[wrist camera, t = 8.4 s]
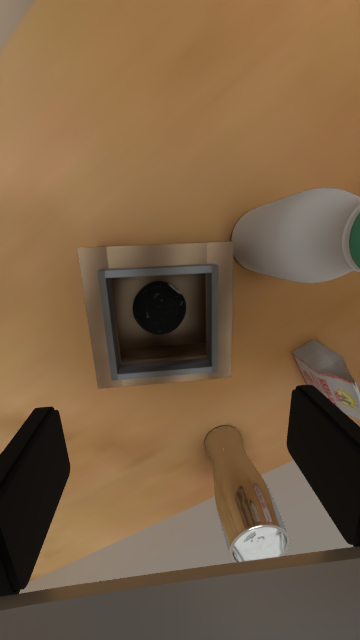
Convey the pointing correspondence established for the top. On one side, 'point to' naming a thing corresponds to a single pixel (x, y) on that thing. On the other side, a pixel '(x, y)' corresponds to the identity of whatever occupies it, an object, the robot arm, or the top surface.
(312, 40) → the top surface
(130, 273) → the housing
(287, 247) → the milk bottle
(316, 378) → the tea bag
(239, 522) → the beer glass
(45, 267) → the top surface
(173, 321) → the billiard ball
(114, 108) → the top surface
